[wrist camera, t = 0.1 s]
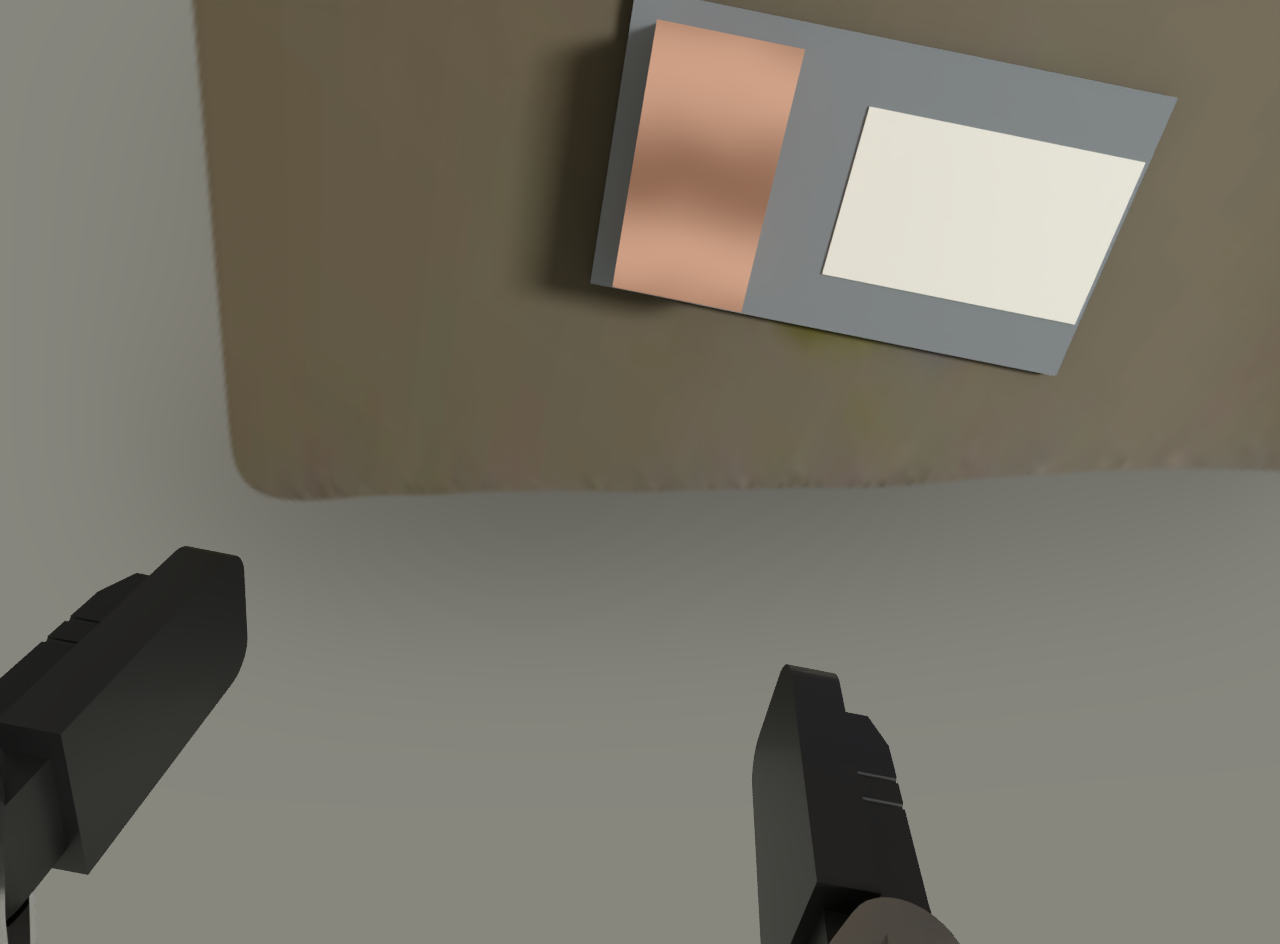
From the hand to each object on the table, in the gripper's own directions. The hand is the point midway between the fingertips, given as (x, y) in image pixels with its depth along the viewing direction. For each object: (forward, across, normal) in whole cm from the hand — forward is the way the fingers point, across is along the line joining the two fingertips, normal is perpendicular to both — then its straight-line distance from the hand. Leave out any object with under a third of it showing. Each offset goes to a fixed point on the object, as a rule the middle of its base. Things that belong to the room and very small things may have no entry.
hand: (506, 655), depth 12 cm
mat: (+29, -9, -4) cm, 31 cm away
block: (+28, -2, -4) cm, 29 cm away
